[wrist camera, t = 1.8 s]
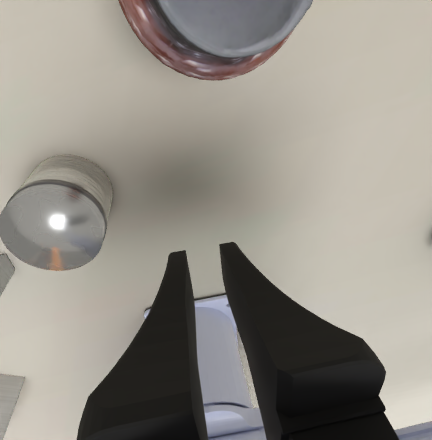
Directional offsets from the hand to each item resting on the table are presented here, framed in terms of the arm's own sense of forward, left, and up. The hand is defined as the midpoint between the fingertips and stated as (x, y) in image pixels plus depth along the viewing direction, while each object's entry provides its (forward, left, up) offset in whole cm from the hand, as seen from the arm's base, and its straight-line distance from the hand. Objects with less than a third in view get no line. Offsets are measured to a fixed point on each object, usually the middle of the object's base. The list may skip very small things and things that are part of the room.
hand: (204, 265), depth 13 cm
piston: (0, +8, -10) cm, 12 cm away
